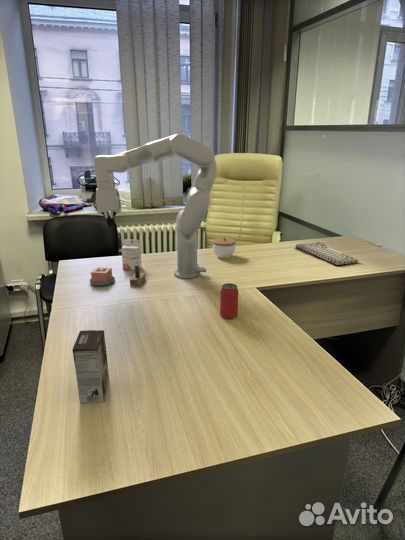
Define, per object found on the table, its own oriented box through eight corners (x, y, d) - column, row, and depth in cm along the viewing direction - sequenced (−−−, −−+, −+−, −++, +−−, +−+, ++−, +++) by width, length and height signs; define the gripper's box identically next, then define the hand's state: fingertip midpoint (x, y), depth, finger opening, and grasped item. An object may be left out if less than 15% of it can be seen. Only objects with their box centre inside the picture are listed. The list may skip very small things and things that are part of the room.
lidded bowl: (224, 251, 214) (224, 233, 211) (240, 256, 206) (241, 237, 202) (208, 256, 206) (208, 237, 203) (224, 261, 198) (224, 241, 194)
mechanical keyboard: (363, 263, 197) (364, 257, 196) (335, 268, 190) (336, 262, 189) (316, 245, 230) (317, 240, 228) (291, 249, 223) (291, 243, 221)
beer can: (239, 313, 141) (240, 284, 137) (235, 320, 135) (236, 290, 131) (222, 310, 143) (223, 281, 139) (217, 318, 137) (218, 288, 133)
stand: (145, 279, 174) (144, 262, 171) (140, 286, 165) (139, 269, 163) (135, 278, 174) (134, 262, 172) (130, 285, 166) (128, 269, 163)
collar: (112, 276, 172) (111, 267, 170) (106, 282, 165) (105, 273, 164) (97, 276, 173) (96, 267, 171) (91, 281, 166) (90, 272, 165)
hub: (118, 278, 174) (117, 265, 172) (110, 287, 164) (108, 273, 162) (95, 277, 175) (94, 264, 173) (86, 286, 165) (84, 272, 163)
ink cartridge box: (122, 269, 186) (120, 241, 180) (125, 266, 190) (123, 238, 185) (139, 270, 185) (137, 242, 180) (141, 267, 189) (140, 239, 184)
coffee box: (86, 381, 102) (79, 329, 96) (110, 380, 102) (104, 328, 97) (78, 404, 93) (71, 349, 88) (104, 402, 94) (98, 347, 88)
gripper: (125, 183, 163) (129, 224, 170) (92, 184, 165) (98, 224, 171) (120, 185, 156) (124, 228, 163) (86, 186, 158) (92, 228, 164)
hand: (111, 226), depth 167 cm, fingers closed
